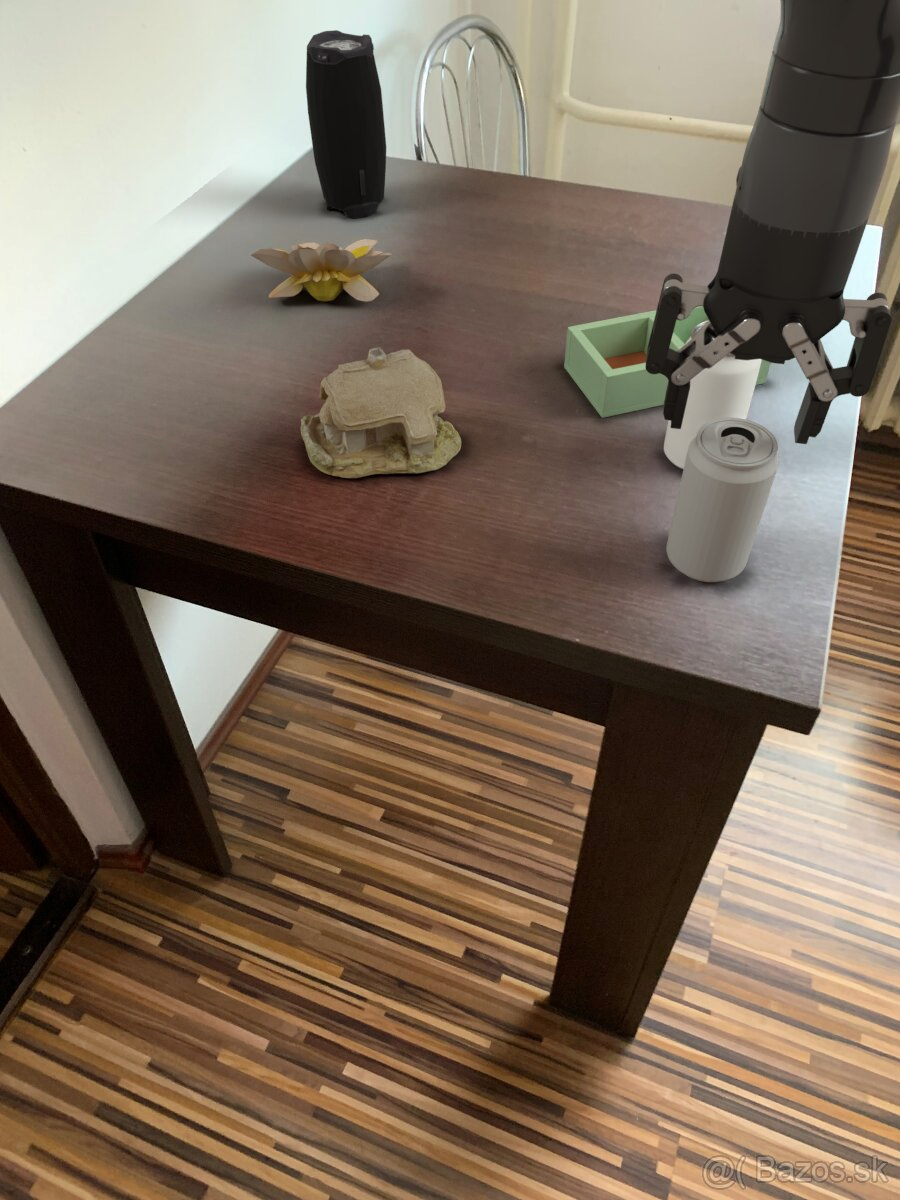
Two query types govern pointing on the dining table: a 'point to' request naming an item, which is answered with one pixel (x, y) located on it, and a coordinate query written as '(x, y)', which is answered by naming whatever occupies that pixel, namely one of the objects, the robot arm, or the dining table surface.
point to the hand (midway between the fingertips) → (737, 429)
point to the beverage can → (722, 498)
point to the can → (712, 400)
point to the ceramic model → (380, 419)
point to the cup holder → (625, 361)
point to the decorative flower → (325, 269)
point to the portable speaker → (346, 121)
